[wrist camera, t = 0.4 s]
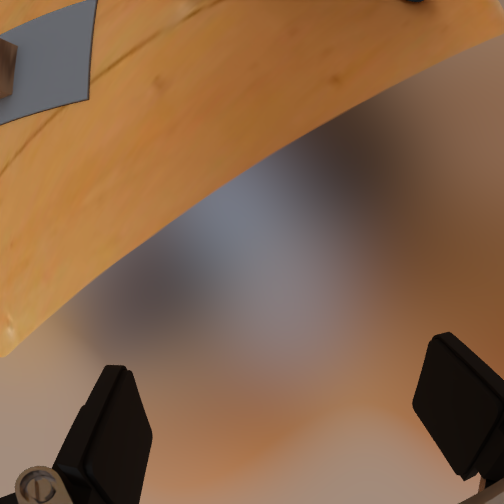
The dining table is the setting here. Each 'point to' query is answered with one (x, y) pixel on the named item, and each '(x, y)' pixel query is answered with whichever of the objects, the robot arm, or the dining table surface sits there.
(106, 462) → the robot arm
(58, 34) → the rubber mat
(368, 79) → the dining table surface
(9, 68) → the walnut slab
